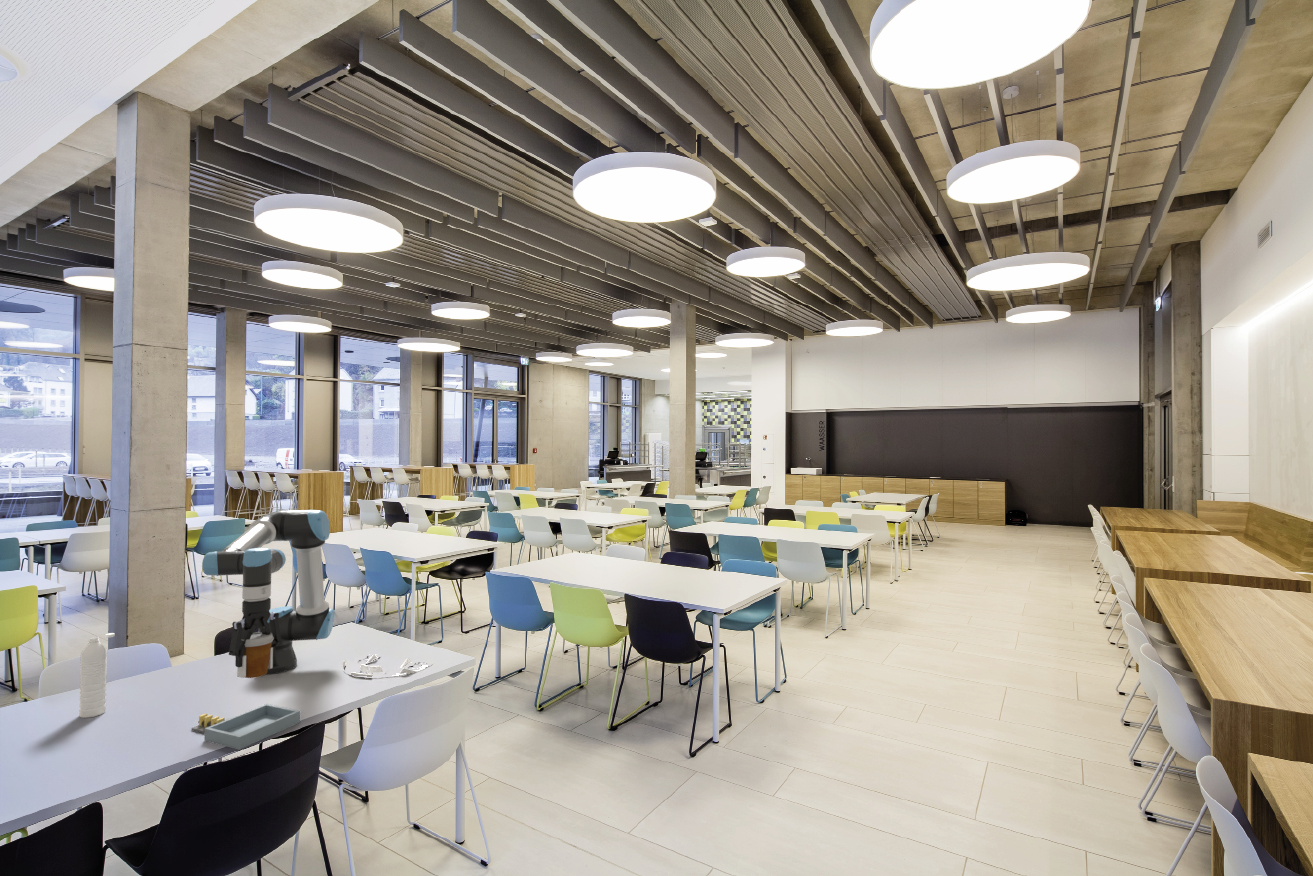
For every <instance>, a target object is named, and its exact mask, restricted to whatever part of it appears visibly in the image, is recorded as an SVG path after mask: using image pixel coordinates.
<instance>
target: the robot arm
mask: <svg viewBox="0 0 1313 876" xmlns="http://www.w3.org/2000/svg"><path fill="white" fill-rule="evenodd" d="M330 531H331V526H330V521H329V517H328V514H327V513H326V512H325V511H323V510H319V509H318V510H317V509H301V510H300V509H299V510H298V509H297V510H295V509H294V510H293V509H292V510H278V511H273V512H269V513H267V514H265V515H262V516H260V517H259V518H257V519H255V520H254V521H253V522H251V523H250V524H249V526H248V527H247V530H246V531H244V532H243V533H242V534H241V535H240V536H239V537H237V538H236V539H234V540H233V541H232V542H231V543H230V544H228V545H227V546H226V547H224V548H223V549H222V550H221V551H217V550H216V551H209V552H207V553H205V555H204V556H203V558H202V563H201V564H202V565H201V567H202V572H203V573H204V575H206V576H216V577H219V576H239V575H242V592H241V593H242V594H241V598H242V603H241V604H242V607H241V611H242V618H241V619H239V620H238V621H233V622H232V624H231V625H232V634H231V638H230V639H231V640H230V646H229V651H228V655H229V656H233V657H235V663H234V664H235V667H236V668H237V672H236V673H237V677H238V678H241V679H244V678H245V677H246V655H244V653H245V650H246V647H245V645H244V644H245V643H246V640H247V639H250V637H251V635H252V634H253V633H255V631H256V630H258V631H257V632H262V634H266V635H269V634H270V633H272V635H273V637H274V639H273V641H272V645H271V651H270V657H269V663H268V670H267V674H266V675H272V674H273V675H274V674H280V673H284V672H287V671H291V670H292V669H295V668H296V667H297V666H298V659H297V658H298V657H297V656H296V652H295V651H294V647H293V641H295V642H296V641H310V640H311V641H315V640H316V641H317V640H324V639H327V638H328V637H329V636H331V633H332V631H333V627H334V624H335V623H334V622H335V616H336V611H335V609H334V608H330V604H329V603H328V602H327V601H326V600H325V590H324V587H325V586H324V573H323V572H324V571H323V558H322V556H323V555H322V547H323V546H324V545H325V543H326V541H327V540H328V539H329V537H330V535H331V533H330ZM272 542H290V545H291V548H292V549H294V550H295V552H296V567H297V579H298V581H297V583H298V592H299V594H298V595H299V604H298V606H297V607H296V608H295V610H294V608H293V606H288V605H287V606H286V605H285V606H281V607H275V608H272V609H271V607H272V606H271V605H272V600H271V599H272V598H271V595H272V574H274V573H276V572H279V571H280V570H281V569H283V567H284V565H285V564H286V561H287V559H286V555H285V553H284V552H283V551H282V550H281V549H278V548H269V547H264V545H268V544H270V543H272ZM241 639H243V640H244V641H242V640H241Z"/></svg>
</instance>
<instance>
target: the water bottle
mask: <svg viewBox="0 0 1313 876" xmlns="http://www.w3.org/2000/svg"><path fill="white" fill-rule="evenodd" d="M115 634H116V633H114V632H109V633H106V634H104V639H105V638H106V639H110V638H113V637H116V636H115ZM107 657H108V650H107V647H105V645H103V643H102V642H101V641H100V637H99V636H93V637H90V638H89V640H88V644H86V646H85V647H84V648H83V650H82V651H81V653H80V673H79V674H80V675H79V676H80V679H79V680H80V681H79V684H80V685H79V690H80V691H79V718H82V719H83V718H84V719H85V718H94V717H97V716H101V715H103V714H104V713H106V711H107V704H106V703H107V670H108V669H107V667H108V666H107V664H108V662H107V661H108V658H107Z"/></svg>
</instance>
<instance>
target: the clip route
mask: <svg viewBox="0 0 1313 876" xmlns="http://www.w3.org/2000/svg"><path fill="white" fill-rule="evenodd" d="M213 716H214V715H213V714H208V713H204V714H203V713H202V714H200V715H199V716H198V717H199V718H198V723H197V724H198V725H196V726H193V727H191V731H192V732H196V733H198V734H199V733H200V734H204V735H205V728H207V727H210V726H212V725H215V724H217V723H220V722H222V721H225V720H226V719H225V717H220V716H218V715H216V716H215V717H213Z"/></svg>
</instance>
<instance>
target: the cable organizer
mask: <svg viewBox="0 0 1313 876" xmlns="http://www.w3.org/2000/svg"><path fill="white" fill-rule="evenodd" d="M372 654H373V653H372ZM376 655H377V654H375V655H374V654H373V655H372V656H369V657H370V658H369V659H367V660H368V661H367V662H366V661H365V662H366V663H368V662H371V661H372V660H374V659H376V658H378V657H377V656H376ZM342 661H343V662H342V668H345V665H346V664H347V663H348V662H349V661H346V660H342ZM374 661H375V660H374ZM410 663H412V661H411V660H410V658H406V659H405V660H404V661H403V663H402V664H401V665H400V667H399V668H402V667H404V666H406V665H409V664H410ZM420 666H421V665H420ZM421 667H422V668H421ZM421 667H419V668H420V669H419V670H410V669H406V668H402V670H401V671H400V673H396V675H392V676H398V677H400V676H399V675H401V676H404V674H405V675H407V674H408V675H411V674H410V673H412V674H415V673H419V672H421V671H424V670H425V667H428V665H422V666H421ZM428 668H429V667H428ZM417 669H418V668H417ZM423 669H424V670H423ZM360 670H361V671H360V672H361V673H356V672H351V674H350V675H354V676H367V677H372V676H373V675H372V674H374V673H384V672H383V671H384V670H383V667H382V666H381V665H370V666H369V664H367V665H365V664H361V666H360ZM418 671H419V672H418ZM363 672H365V673H367V672H368V673H367V674H363ZM414 672H415V673H414ZM369 673H371V674H369ZM402 673H404V674H402Z"/></svg>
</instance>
